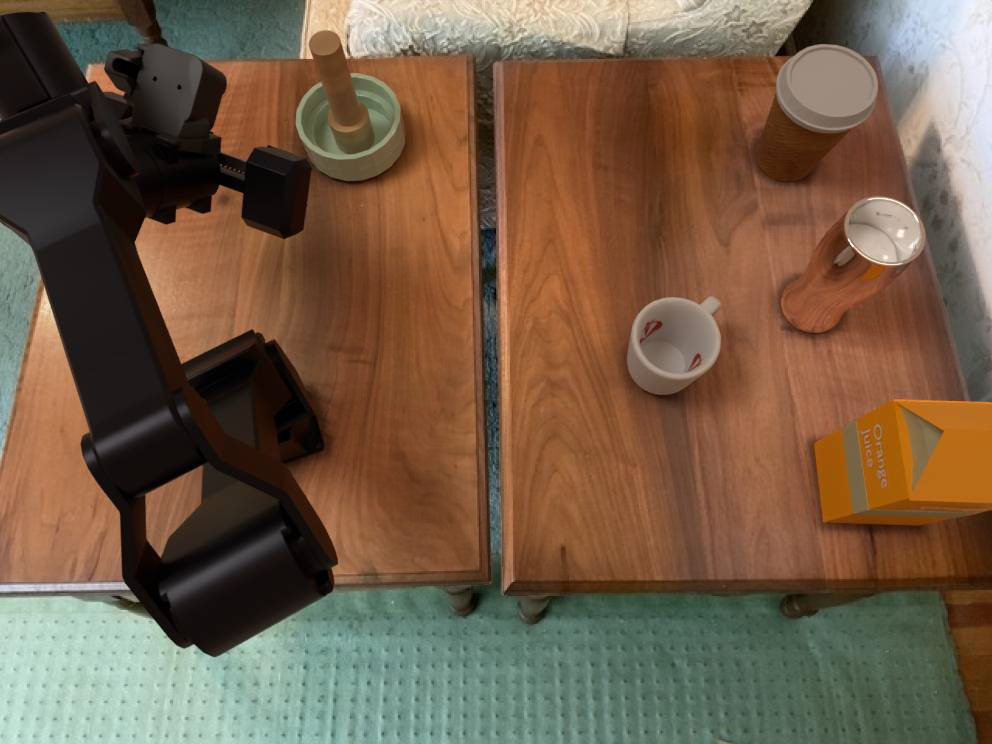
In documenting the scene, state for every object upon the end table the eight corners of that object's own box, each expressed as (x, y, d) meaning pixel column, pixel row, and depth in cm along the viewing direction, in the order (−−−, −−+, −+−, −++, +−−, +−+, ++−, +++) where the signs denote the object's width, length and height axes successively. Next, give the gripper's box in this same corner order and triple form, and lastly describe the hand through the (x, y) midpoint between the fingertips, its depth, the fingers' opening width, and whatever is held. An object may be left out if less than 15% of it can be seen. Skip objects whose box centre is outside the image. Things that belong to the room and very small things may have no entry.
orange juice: (813, 441, 67) (933, 374, 48) (906, 444, 66) (1064, 377, 48) (822, 524, 64) (954, 488, 45) (919, 527, 64) (1092, 492, 45)
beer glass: (762, 308, 71) (825, 232, 57) (801, 263, 73) (872, 178, 59) (819, 351, 70) (898, 284, 56) (858, 304, 71) (945, 227, 57)
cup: (672, 297, 72) (692, 260, 64) (733, 348, 70) (760, 316, 62) (601, 366, 70) (613, 336, 62) (662, 421, 68) (681, 397, 60)
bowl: (418, 166, 78) (413, 140, 73) (322, 196, 77) (311, 172, 72) (389, 90, 81) (382, 61, 77) (296, 118, 80) (284, 90, 76)
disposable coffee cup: (730, 178, 76) (769, 102, 65) (754, 111, 79) (795, 28, 68) (816, 206, 75) (870, 134, 64) (837, 138, 78) (893, 57, 67)
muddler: (379, 148, 78) (353, 53, 65) (342, 160, 77) (307, 66, 64) (368, 118, 79) (340, 18, 66) (331, 129, 79) (295, 31, 65)
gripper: (256, 98, 44) (365, 90, 57) (9, 15, 46) (170, 26, 60) (241, 262, 49) (345, 218, 62) (19, 179, 51) (165, 155, 65)
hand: (256, 152), depth 62 cm, fingers open, 9 cm apart
